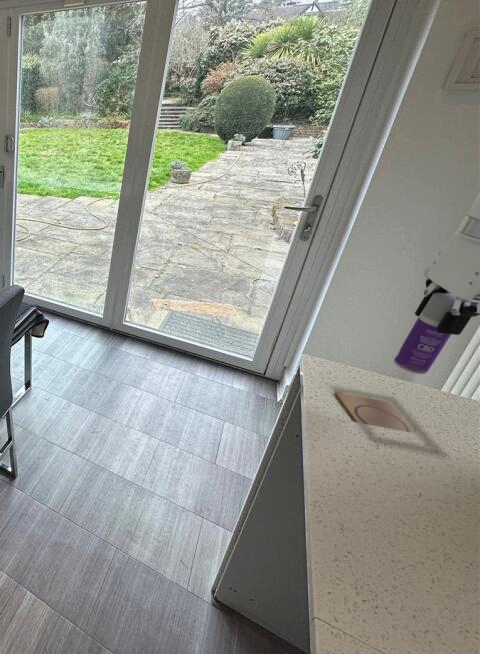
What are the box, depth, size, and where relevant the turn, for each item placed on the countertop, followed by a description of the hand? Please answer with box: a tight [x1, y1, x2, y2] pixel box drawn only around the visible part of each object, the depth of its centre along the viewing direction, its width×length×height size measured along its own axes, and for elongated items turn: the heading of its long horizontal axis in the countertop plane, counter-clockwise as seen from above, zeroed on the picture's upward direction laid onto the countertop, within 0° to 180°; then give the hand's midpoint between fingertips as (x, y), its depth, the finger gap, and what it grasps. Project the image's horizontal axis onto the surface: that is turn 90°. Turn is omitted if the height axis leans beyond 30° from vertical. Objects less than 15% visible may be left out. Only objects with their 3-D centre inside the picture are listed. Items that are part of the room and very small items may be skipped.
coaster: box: [334, 391, 417, 435], centre depth 84 cm, size 10×14×1 cm
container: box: [393, 293, 470, 375], centre depth 75 cm, size 5×5×15 cm
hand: (436, 323), depth 74 cm, fingers closed on container, 4 cm apart
